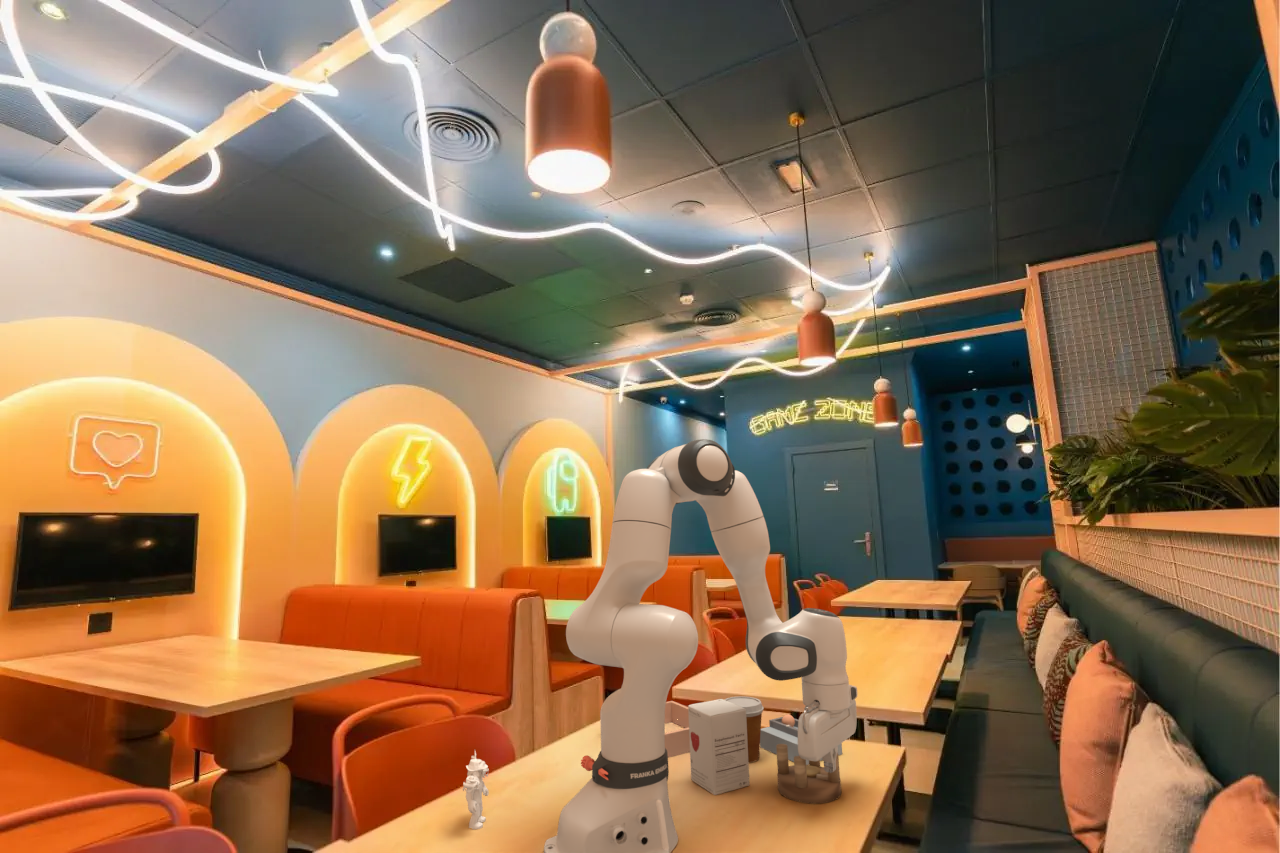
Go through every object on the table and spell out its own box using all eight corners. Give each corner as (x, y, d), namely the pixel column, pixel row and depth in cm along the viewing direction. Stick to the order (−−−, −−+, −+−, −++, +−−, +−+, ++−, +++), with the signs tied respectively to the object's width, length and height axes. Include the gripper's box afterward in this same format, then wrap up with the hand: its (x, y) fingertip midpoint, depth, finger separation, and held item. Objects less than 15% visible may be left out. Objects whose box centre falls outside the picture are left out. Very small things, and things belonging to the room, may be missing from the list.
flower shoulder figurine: (472, 813, 121) (473, 745, 123) (493, 812, 121) (493, 745, 123) (458, 836, 112) (458, 763, 114) (480, 836, 112) (480, 762, 114)
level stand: (802, 766, 138) (801, 738, 139) (760, 747, 150) (758, 721, 151) (842, 754, 144) (840, 727, 145) (798, 737, 156) (796, 712, 157)
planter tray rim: (647, 762, 143) (646, 738, 144) (603, 735, 162) (602, 714, 163) (723, 743, 154) (722, 721, 154) (673, 720, 172) (672, 700, 173)
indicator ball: (788, 731, 149) (787, 717, 149) (779, 727, 151) (778, 714, 152) (797, 728, 150) (797, 715, 151) (789, 725, 153) (788, 712, 153)
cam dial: (833, 808, 118) (830, 764, 119) (769, 796, 123) (766, 755, 124) (847, 783, 128) (844, 743, 129) (787, 773, 134) (785, 735, 135)
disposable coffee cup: (766, 766, 139) (762, 708, 140) (722, 764, 140) (719, 707, 142) (766, 750, 148) (763, 696, 150) (725, 749, 150) (722, 695, 151)
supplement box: (689, 780, 133) (686, 704, 135) (725, 771, 137) (721, 697, 139) (714, 796, 125) (710, 715, 127) (751, 786, 129) (747, 707, 131)
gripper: (819, 711, 114) (824, 794, 112) (860, 686, 130) (865, 758, 128) (786, 705, 118) (790, 785, 116) (830, 681, 134) (834, 752, 132)
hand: (830, 771), depth 122 cm, fingers closed
